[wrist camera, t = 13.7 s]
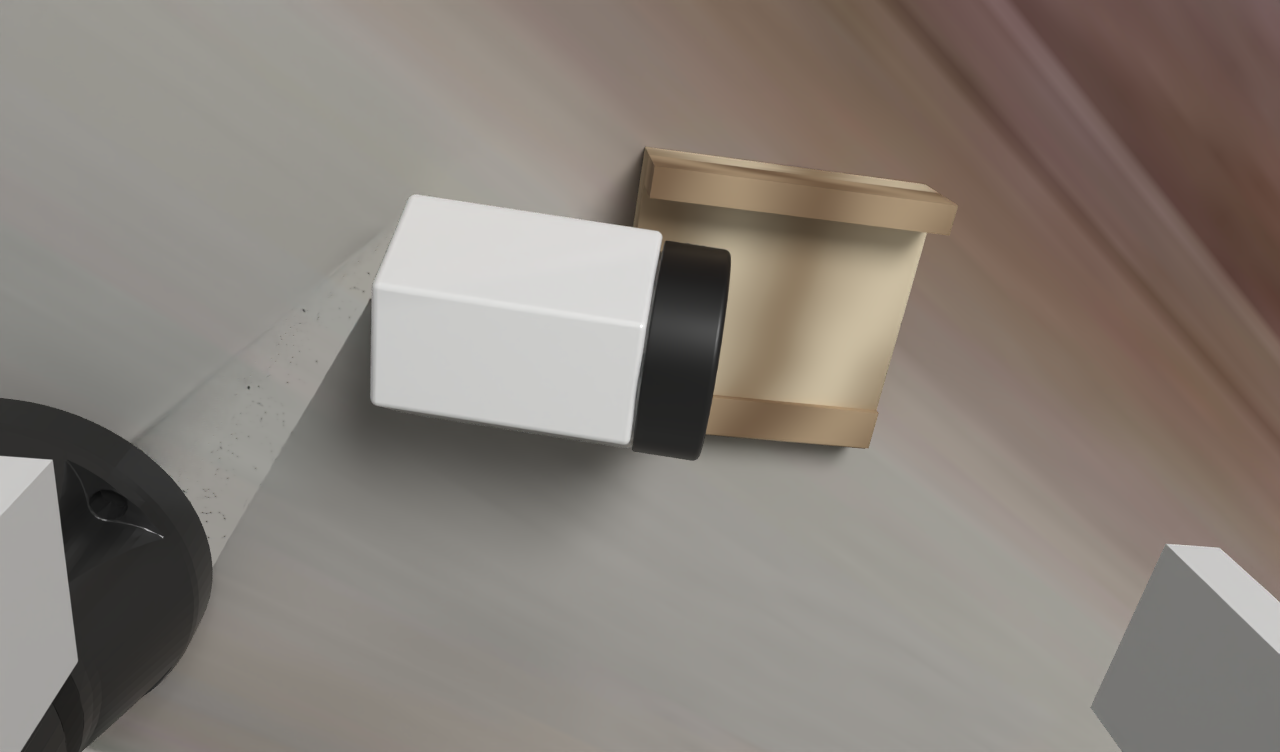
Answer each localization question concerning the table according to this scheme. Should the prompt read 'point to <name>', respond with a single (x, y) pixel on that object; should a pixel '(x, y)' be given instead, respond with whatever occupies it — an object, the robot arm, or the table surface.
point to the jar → (548, 326)
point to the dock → (797, 285)
